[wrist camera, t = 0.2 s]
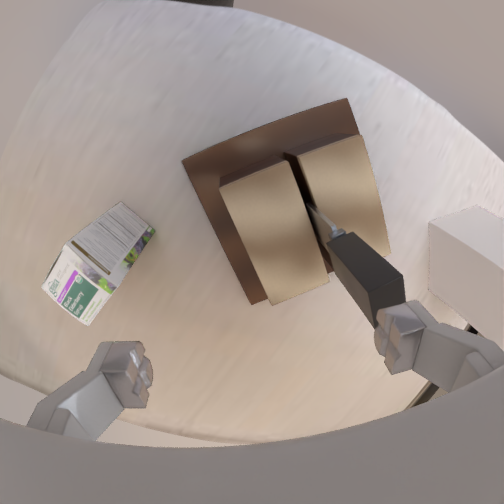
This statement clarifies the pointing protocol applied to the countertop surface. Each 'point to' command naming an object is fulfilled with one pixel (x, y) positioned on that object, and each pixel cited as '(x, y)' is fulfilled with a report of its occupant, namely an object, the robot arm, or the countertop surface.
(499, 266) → the milk
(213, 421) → the countertop surface
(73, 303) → the syrup box
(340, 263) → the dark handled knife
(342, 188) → the brown square slotted block
